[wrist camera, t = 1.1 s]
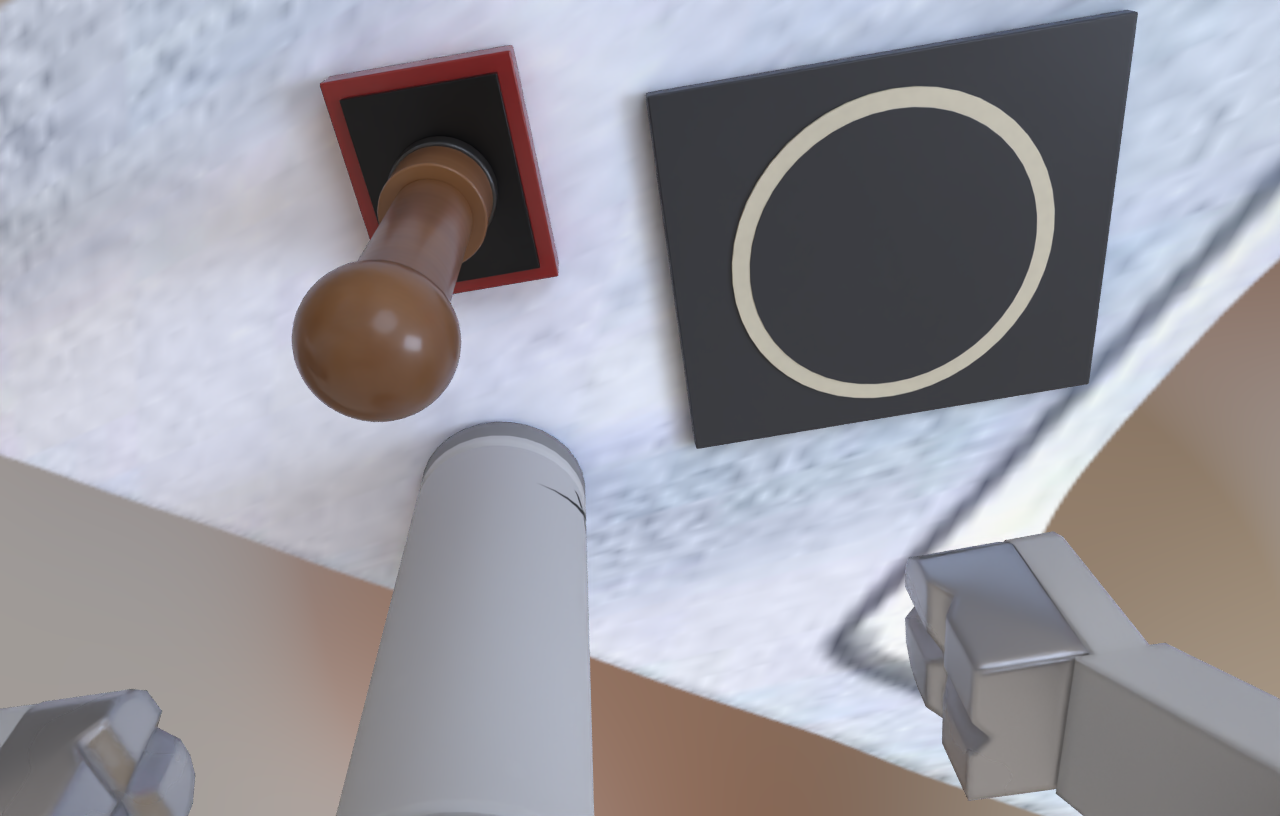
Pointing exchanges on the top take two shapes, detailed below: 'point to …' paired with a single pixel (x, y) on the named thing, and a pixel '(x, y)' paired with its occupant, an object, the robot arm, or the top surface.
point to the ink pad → (462, 109)
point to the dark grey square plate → (892, 226)
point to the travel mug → (484, 641)
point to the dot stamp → (399, 289)
